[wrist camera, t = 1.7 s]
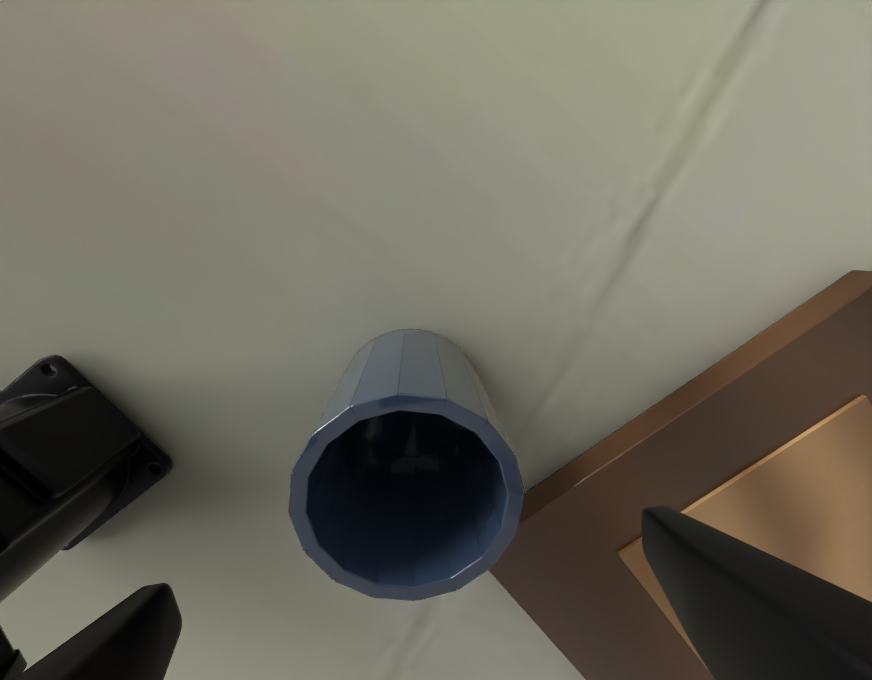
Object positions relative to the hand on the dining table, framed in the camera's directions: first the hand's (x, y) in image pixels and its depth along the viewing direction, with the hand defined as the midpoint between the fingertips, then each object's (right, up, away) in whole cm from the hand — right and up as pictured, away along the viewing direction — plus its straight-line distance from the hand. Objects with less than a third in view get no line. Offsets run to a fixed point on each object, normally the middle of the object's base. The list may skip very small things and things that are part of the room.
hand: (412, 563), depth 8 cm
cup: (-1, +2, +10) cm, 10 cm away
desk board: (+15, -5, +12) cm, 20 cm away
